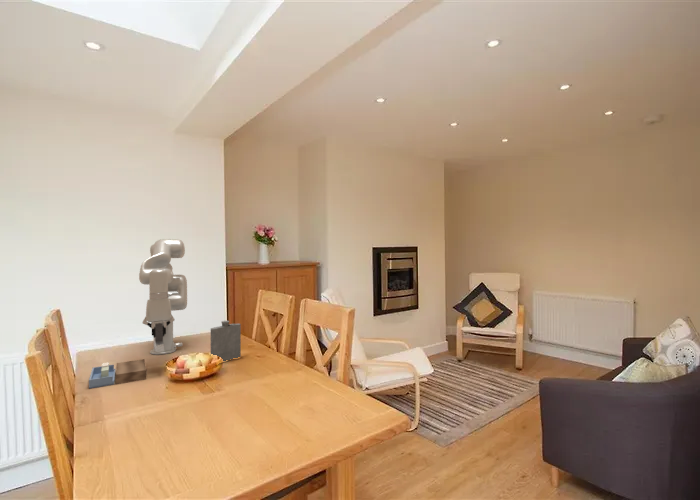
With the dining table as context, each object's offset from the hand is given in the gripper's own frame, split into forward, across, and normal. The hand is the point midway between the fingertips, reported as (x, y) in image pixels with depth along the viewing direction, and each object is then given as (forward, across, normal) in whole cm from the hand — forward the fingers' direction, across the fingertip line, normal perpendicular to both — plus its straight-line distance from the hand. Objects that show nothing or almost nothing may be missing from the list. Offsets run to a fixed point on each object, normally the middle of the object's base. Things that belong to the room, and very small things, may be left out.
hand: (158, 336), depth 165 cm
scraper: (+5, 0, 0) cm, 5 cm away
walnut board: (+16, +11, 0) cm, 19 cm away
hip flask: (+16, -30, +1) cm, 34 cm away
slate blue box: (+16, +21, 0) cm, 27 cm away
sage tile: (+13, +19, +3) cm, 23 cm away
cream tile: (+13, +19, -4) cm, 24 cm away
